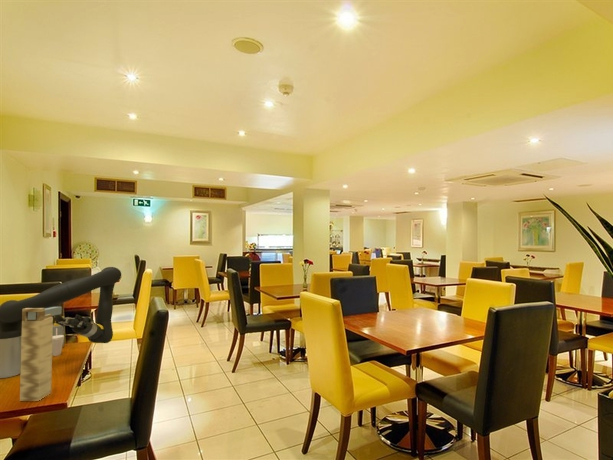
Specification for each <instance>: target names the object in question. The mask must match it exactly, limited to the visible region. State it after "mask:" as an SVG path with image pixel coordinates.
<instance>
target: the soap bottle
mask: <svg viewBox="0 0 613 460" xmlns="http://www.w3.org/2000/svg"><path fill="white" fill-rule="evenodd" d="M55 316H56V315H54V316H53V318H55ZM61 316H62V315H61ZM62 317H65V316H64V315H63V316H62ZM55 322H56V320H55V321H54V322H53V334H52V336H56V328H57V335H64V336H65V332H64V331H65V330H64V327H65V326H61V325H59V324H56V323H55ZM64 346H65V337H64V338H63V344H62V349H63V347H64Z"/></svg>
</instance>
